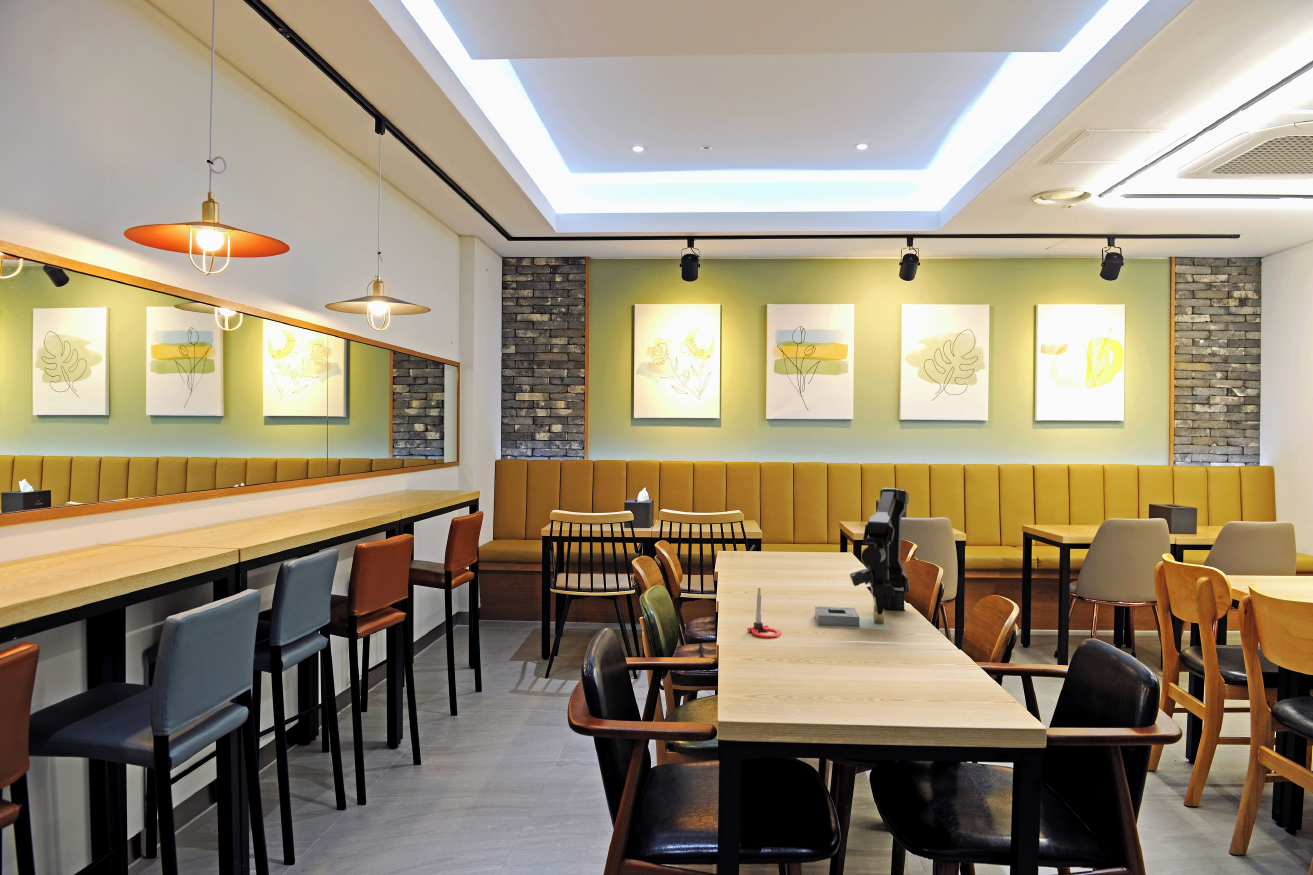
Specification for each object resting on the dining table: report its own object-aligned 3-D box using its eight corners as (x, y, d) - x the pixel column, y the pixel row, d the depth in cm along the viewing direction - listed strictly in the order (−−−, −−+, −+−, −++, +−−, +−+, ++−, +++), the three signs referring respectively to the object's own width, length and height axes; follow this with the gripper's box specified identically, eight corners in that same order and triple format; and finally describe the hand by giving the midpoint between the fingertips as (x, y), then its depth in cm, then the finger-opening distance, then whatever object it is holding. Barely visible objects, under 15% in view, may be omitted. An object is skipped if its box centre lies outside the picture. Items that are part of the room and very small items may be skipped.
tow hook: (787, 638, 208) (768, 628, 216) (789, 593, 207) (769, 585, 215) (763, 641, 204) (744, 632, 212) (764, 596, 203) (745, 588, 212)
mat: (883, 618, 229) (883, 617, 229) (891, 630, 214) (891, 629, 214) (814, 616, 232) (814, 614, 232) (818, 627, 217) (818, 626, 217)
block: (854, 617, 229) (854, 607, 229) (859, 626, 217) (859, 616, 217) (815, 615, 231) (815, 606, 231) (818, 625, 219) (818, 615, 219)
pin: (883, 621, 223) (883, 589, 223) (884, 624, 220) (884, 591, 220) (872, 621, 224) (873, 588, 224) (874, 623, 221) (874, 590, 221)
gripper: (848, 556, 232) (847, 605, 232) (855, 565, 214) (855, 619, 214) (884, 556, 231) (884, 606, 231) (895, 567, 212) (894, 620, 212)
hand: (878, 612), depth 222 cm, fingers closed on pin, 3 cm apart
